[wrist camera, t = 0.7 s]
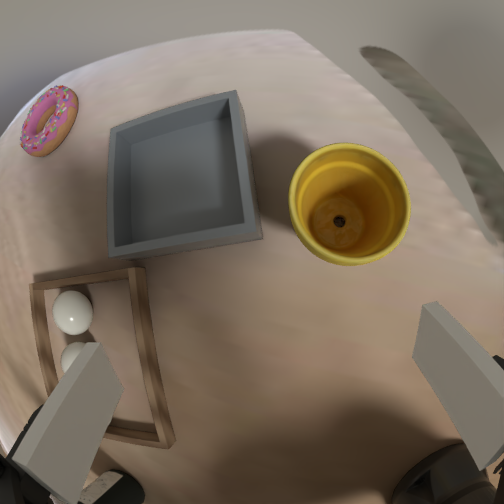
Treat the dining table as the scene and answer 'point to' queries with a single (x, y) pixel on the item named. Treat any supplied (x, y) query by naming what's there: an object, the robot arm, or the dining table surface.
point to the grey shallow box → (181, 180)
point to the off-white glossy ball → (72, 312)
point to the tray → (145, 347)
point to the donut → (59, 125)
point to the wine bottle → (112, 490)
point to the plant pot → (348, 204)
